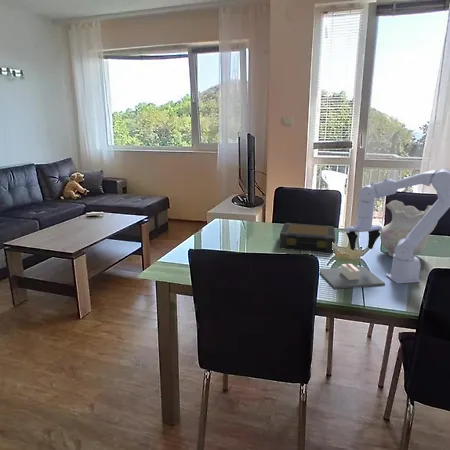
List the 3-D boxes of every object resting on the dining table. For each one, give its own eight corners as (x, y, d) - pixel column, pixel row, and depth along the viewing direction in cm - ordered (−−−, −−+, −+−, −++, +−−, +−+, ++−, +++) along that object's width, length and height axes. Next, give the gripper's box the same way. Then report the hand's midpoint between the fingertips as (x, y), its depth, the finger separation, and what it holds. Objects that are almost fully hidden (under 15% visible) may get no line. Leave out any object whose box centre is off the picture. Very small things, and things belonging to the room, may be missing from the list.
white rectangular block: (358, 279, 144) (359, 270, 143) (349, 279, 143) (350, 271, 142) (350, 271, 150) (351, 263, 149) (340, 272, 150) (341, 264, 149)
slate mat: (363, 268, 156) (363, 266, 156) (384, 285, 141) (385, 283, 140) (317, 271, 153) (317, 269, 153) (334, 288, 138) (334, 286, 137)
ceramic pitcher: (431, 256, 171) (440, 202, 166) (429, 268, 155) (439, 208, 150) (381, 248, 182) (388, 197, 177) (374, 258, 166) (381, 202, 160)
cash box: (333, 240, 191) (334, 225, 188) (333, 254, 172) (335, 238, 170) (283, 235, 197) (284, 221, 194) (278, 249, 178) (279, 233, 176)
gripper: (376, 212, 152) (372, 244, 156) (342, 214, 149) (339, 246, 153) (386, 217, 145) (382, 250, 149) (351, 219, 143) (347, 252, 147)
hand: (361, 248), depth 151 cm, fingers open, 7 cm apart
